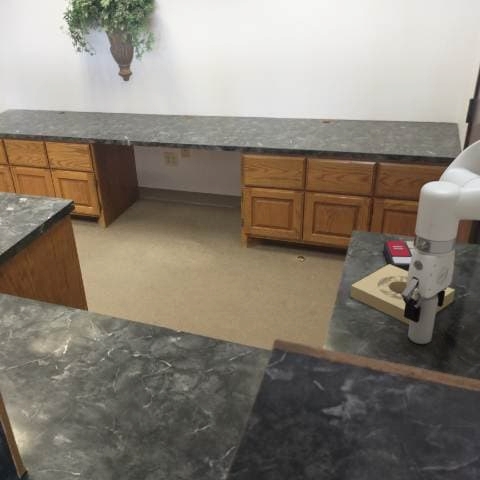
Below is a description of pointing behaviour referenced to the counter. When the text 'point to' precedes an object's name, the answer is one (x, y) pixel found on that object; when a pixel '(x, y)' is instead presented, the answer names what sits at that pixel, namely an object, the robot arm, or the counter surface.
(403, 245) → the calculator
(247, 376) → the counter surface
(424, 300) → the beverage can
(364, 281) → the socket pad
